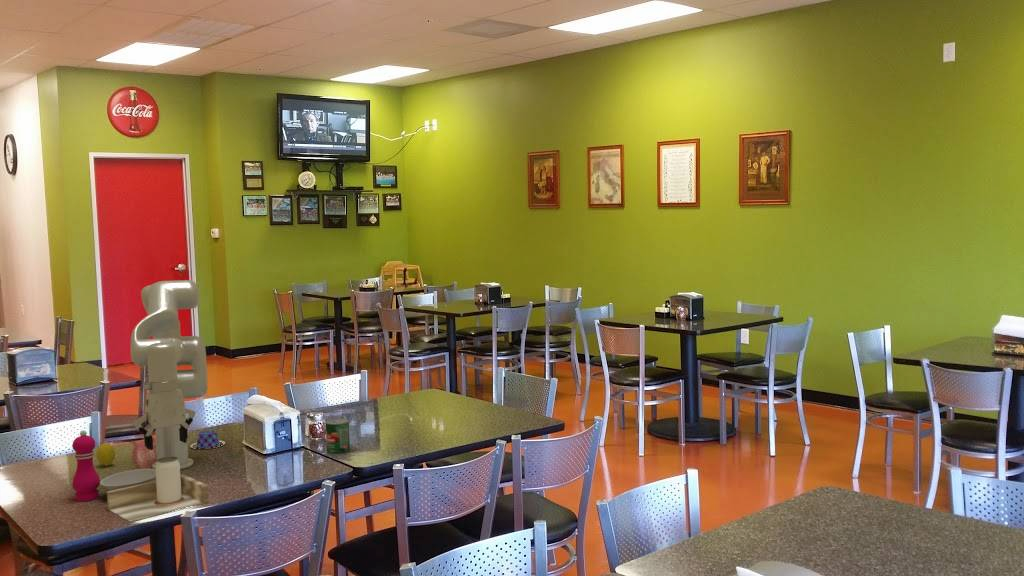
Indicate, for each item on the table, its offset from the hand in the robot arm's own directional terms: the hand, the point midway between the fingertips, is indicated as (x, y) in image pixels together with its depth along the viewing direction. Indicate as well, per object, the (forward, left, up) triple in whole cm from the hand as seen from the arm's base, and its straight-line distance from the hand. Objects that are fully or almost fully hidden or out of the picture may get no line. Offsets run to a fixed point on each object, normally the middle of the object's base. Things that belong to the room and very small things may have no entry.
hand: (166, 445), depth 246 cm
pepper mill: (-22, -15, -17) cm, 31 cm away
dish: (-16, -5, -17) cm, 24 cm away
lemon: (-52, +1, -17) cm, 55 cm away
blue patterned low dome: (-52, +36, -17) cm, 66 cm away
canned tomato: (-8, +62, -17) cm, 65 cm away
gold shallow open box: (+2, -4, -16) cm, 17 cm away
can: (0, 0, -16) cm, 16 cm away
